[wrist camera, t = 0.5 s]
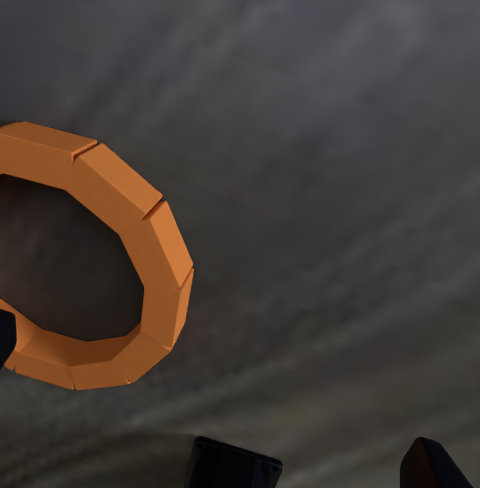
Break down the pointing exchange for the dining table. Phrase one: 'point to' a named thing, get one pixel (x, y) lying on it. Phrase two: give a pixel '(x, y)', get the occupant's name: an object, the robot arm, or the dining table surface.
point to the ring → (135, 241)
